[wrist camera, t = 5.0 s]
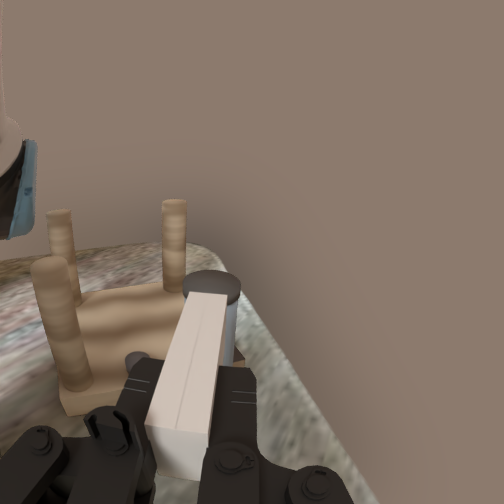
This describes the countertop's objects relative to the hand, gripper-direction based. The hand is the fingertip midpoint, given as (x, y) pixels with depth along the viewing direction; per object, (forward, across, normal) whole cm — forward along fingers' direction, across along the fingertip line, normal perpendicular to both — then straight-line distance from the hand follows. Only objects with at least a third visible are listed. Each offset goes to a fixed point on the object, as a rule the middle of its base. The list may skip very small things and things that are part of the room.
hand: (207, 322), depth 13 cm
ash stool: (+16, -10, -16) cm, 25 cm away
